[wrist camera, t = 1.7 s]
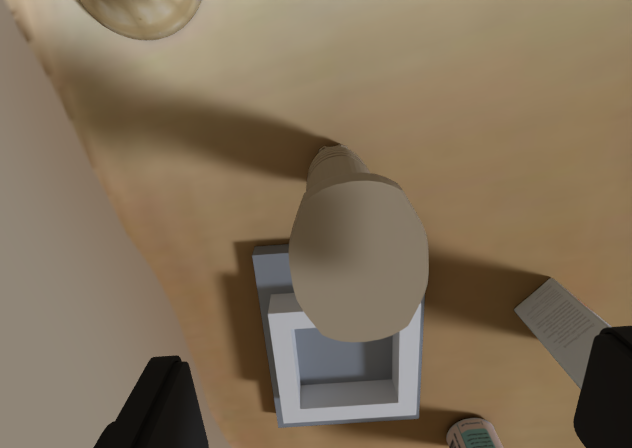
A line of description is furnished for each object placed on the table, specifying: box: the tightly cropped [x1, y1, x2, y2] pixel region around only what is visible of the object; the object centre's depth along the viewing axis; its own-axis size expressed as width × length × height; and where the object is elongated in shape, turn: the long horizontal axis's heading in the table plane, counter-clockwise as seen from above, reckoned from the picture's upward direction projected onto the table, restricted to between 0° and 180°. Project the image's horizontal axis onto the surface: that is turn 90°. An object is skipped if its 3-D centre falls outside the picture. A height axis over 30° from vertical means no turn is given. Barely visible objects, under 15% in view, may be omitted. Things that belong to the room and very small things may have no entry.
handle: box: [289, 144, 429, 342], centre depth 20 cm, size 5×6×15 cm
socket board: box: [252, 244, 425, 428], centre depth 31 cm, size 18×13×4 cm
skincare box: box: [514, 278, 611, 389], centre depth 27 cm, size 6×4×12 cm
